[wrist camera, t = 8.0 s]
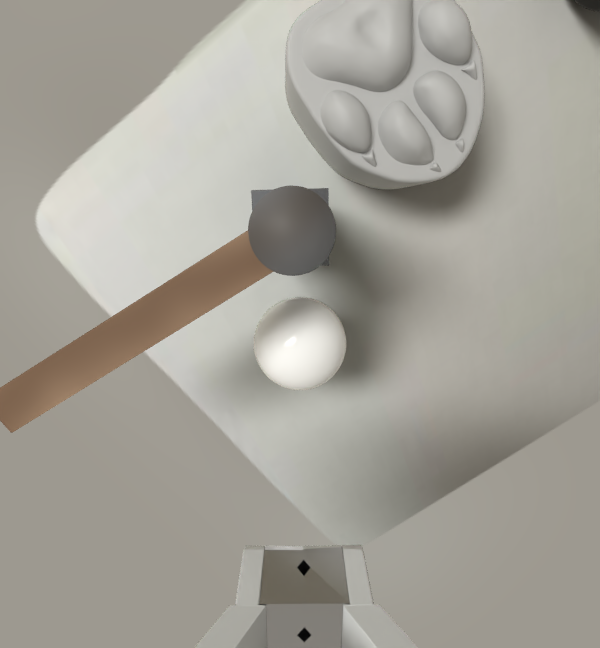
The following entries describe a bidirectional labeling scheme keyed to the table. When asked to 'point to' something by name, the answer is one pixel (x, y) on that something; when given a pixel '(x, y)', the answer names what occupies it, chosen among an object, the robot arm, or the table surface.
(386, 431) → the table surface
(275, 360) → the lightbulb
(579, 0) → the end cap
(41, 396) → the hammer
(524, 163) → the table surface
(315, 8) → the lumpy-topped squat cylinder
